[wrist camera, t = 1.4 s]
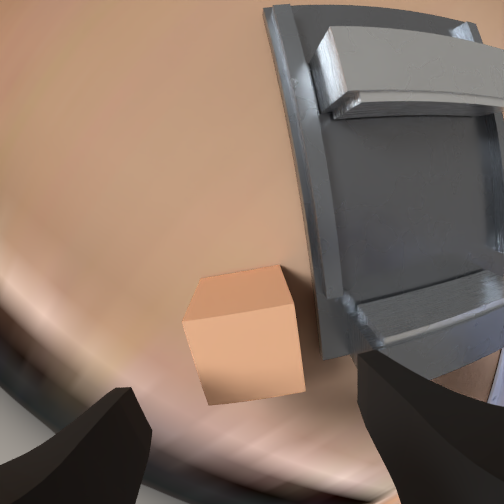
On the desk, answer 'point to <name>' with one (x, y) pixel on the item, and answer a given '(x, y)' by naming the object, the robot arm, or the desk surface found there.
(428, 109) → the moving jaw
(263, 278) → the block
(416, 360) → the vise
